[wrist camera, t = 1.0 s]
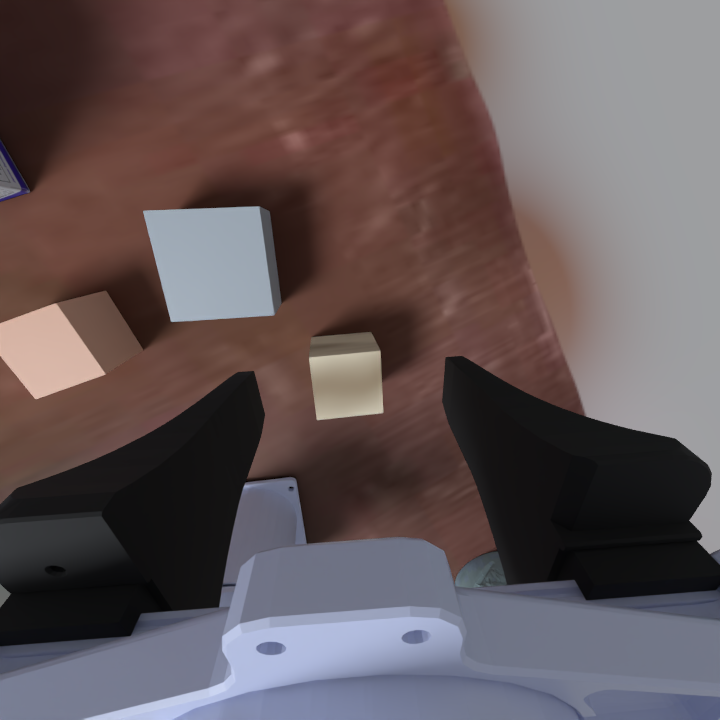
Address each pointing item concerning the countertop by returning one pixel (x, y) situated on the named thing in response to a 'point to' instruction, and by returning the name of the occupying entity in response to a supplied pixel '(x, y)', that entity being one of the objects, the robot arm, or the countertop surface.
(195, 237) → the base block
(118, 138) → the countertop surface
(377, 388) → the maple cube
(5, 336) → the terracotta cube
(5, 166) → the supplement box
